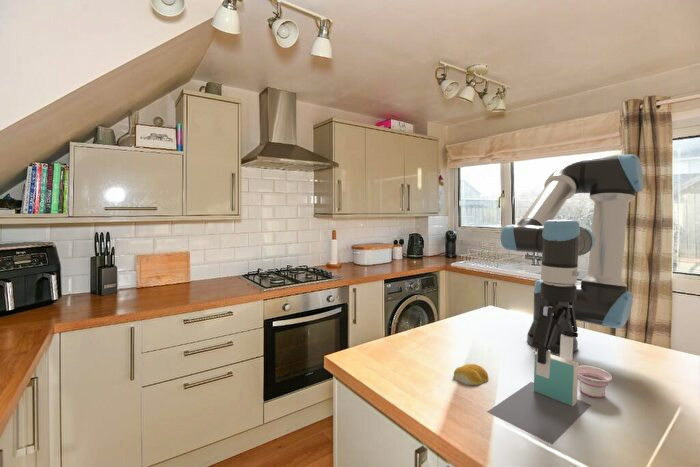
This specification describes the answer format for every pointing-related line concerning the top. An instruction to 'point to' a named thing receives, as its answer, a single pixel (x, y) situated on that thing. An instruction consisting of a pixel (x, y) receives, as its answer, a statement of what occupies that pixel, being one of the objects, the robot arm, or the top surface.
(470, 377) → the bread roll
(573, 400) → the tile
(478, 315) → the top surface
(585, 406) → the mat
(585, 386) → the teacup
